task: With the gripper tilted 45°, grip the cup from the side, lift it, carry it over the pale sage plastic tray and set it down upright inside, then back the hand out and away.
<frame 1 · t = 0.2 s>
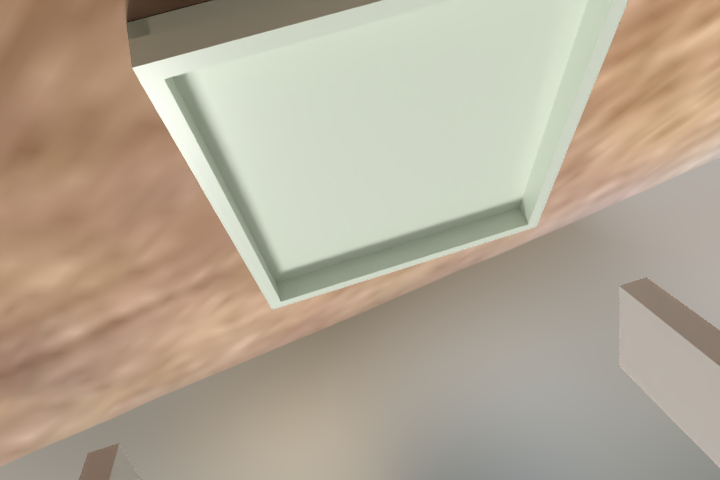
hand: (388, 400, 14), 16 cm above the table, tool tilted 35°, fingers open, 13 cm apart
sage tray: (391, 142, 30), on the table
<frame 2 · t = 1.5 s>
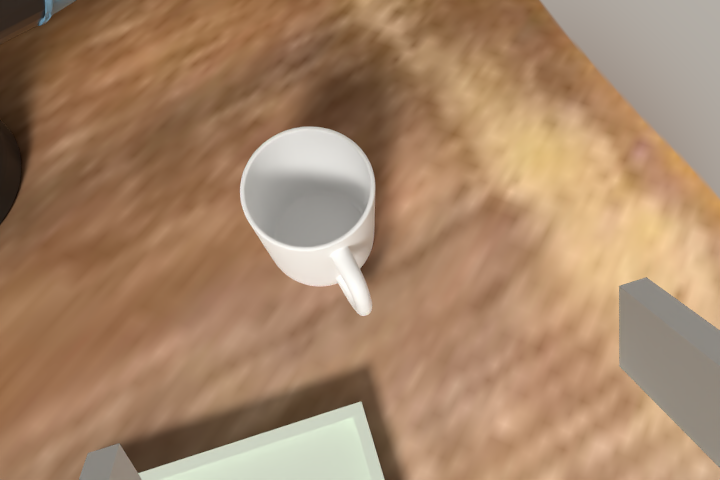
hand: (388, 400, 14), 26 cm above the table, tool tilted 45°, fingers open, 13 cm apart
cup: (332, 258, 42), on the table
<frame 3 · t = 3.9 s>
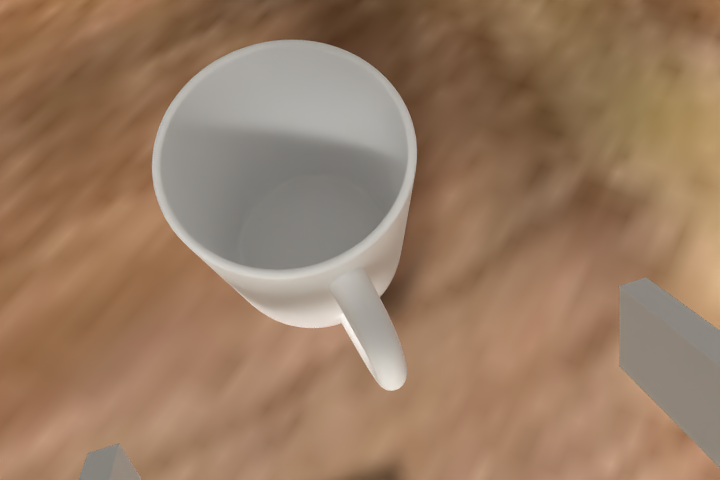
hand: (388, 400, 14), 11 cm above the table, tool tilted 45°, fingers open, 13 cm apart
cup: (333, 280, 26), on the table
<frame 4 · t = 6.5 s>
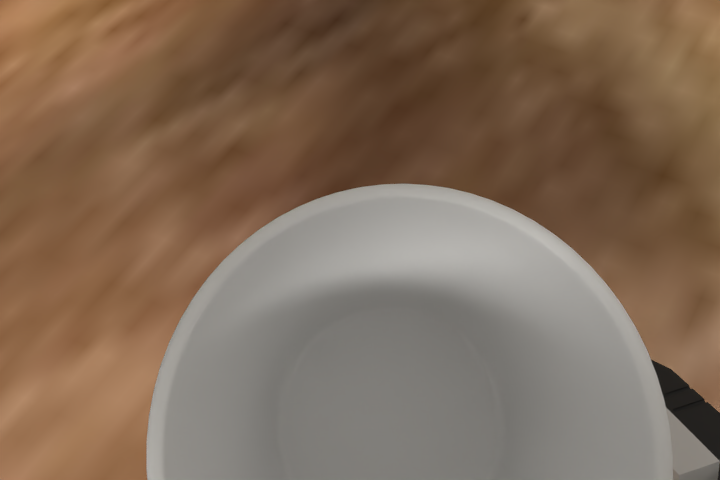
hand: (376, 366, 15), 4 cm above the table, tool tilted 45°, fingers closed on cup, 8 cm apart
cup: (415, 471, 18), on the table, touching gripper
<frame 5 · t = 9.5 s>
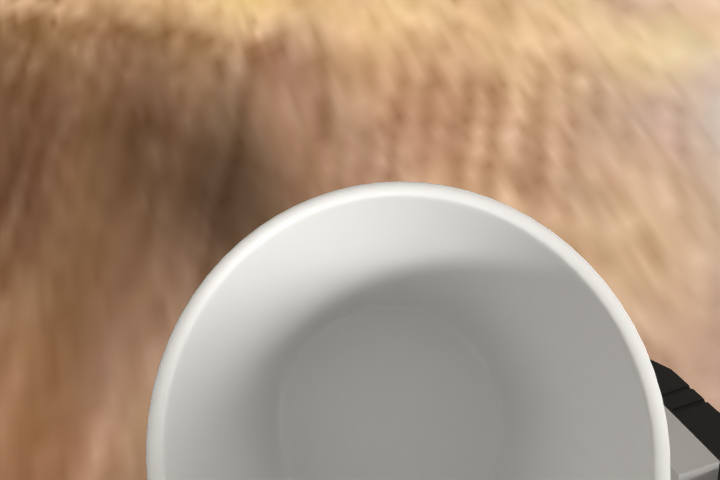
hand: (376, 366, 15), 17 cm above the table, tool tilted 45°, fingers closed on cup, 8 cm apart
cup: (415, 469, 18), point 13 cm above the table, touching gripper
when the fingers open (6 cm above the table, at t = 12.5 s): cup drops 1 cm, resting on sage tray.
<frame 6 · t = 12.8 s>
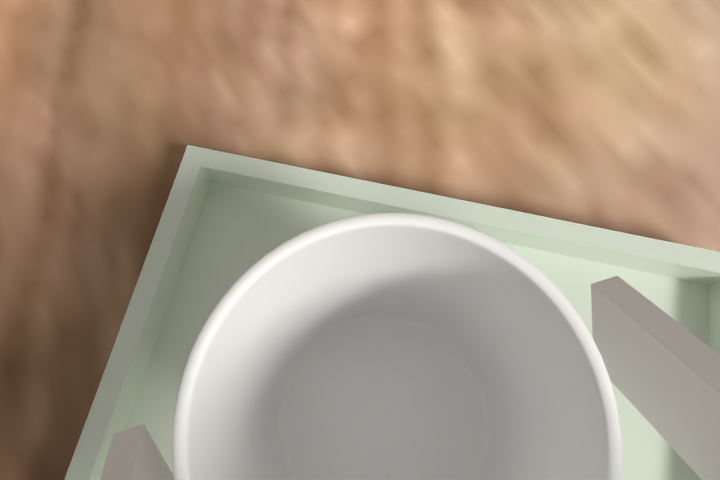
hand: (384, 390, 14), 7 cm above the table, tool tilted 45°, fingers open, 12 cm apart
sage tray: (402, 468, 20), on the table
cup: (407, 467, 19), point 1 cm above the table, touching sage tray
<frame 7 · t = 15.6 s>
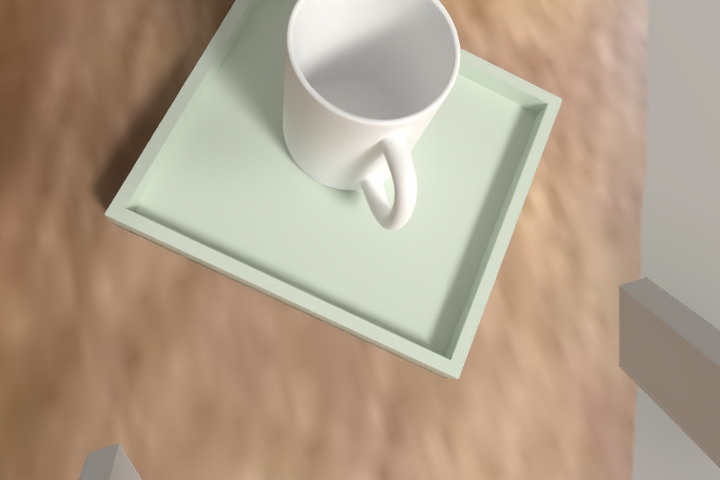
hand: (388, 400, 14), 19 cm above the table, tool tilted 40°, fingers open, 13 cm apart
sage tray: (350, 165, 35), on the table
cup: (354, 160, 35), point 1 cm above the table, touching sage tray
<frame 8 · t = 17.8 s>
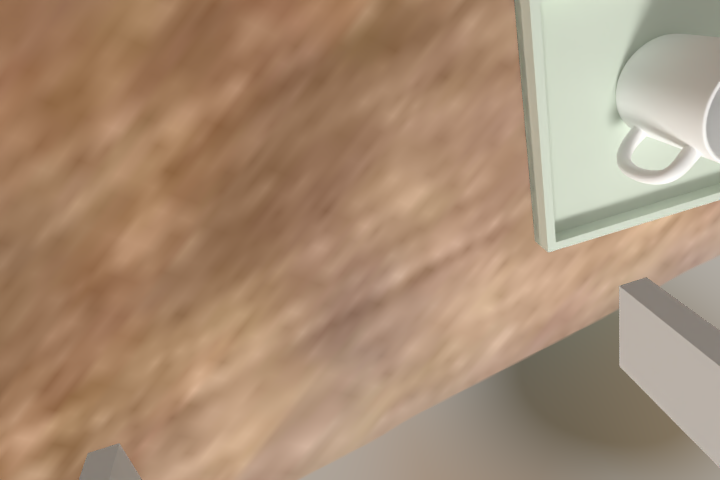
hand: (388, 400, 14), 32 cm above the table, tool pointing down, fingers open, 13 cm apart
sage tray: (632, 99, 47), on the table
cup: (639, 102, 46), point 1 cm above the table, touching sage tray
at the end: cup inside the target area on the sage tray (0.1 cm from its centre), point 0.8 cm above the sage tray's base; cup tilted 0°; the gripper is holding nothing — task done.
